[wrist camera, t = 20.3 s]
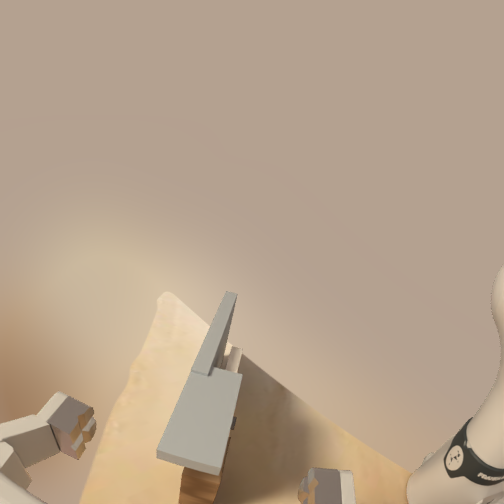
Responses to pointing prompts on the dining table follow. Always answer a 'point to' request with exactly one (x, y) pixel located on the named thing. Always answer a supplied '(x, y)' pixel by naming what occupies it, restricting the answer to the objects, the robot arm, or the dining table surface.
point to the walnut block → (200, 485)
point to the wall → (205, 403)
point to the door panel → (234, 368)
